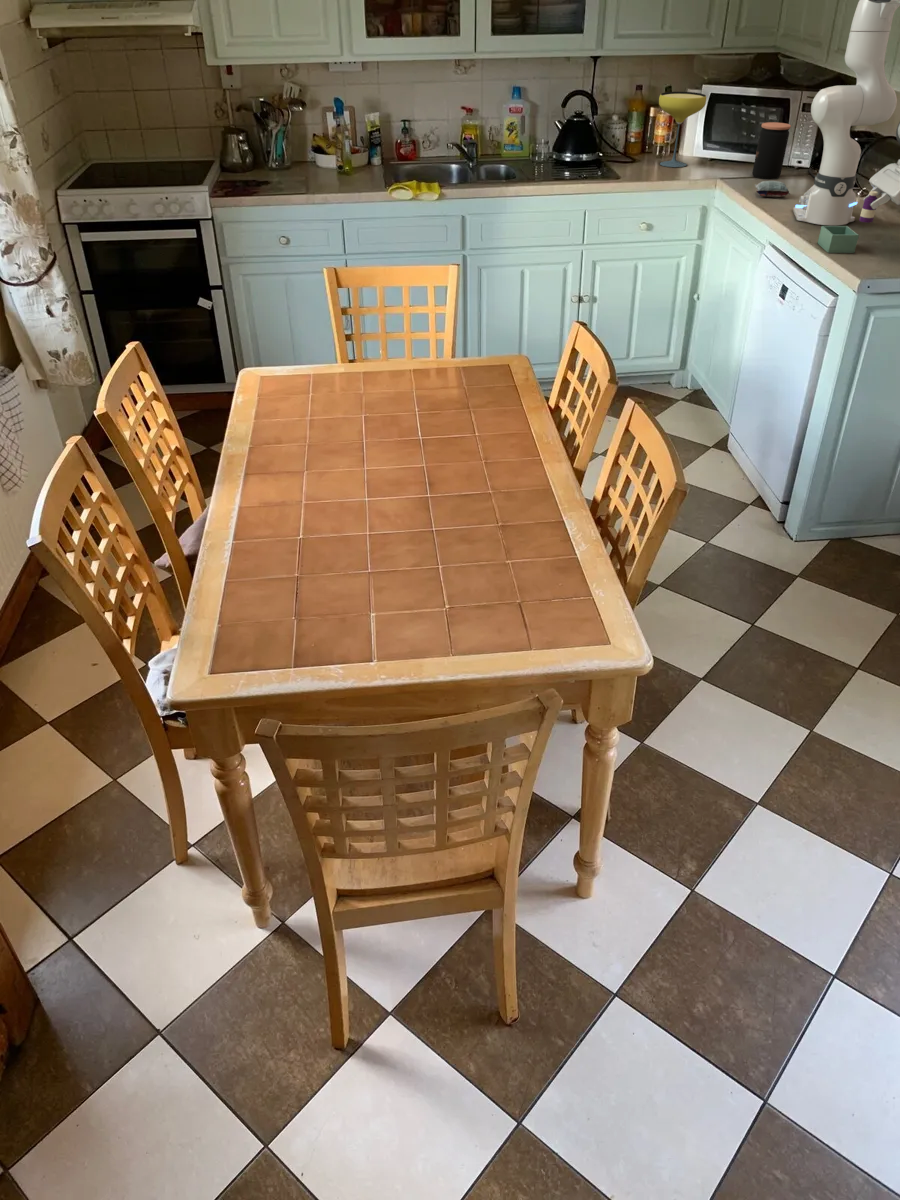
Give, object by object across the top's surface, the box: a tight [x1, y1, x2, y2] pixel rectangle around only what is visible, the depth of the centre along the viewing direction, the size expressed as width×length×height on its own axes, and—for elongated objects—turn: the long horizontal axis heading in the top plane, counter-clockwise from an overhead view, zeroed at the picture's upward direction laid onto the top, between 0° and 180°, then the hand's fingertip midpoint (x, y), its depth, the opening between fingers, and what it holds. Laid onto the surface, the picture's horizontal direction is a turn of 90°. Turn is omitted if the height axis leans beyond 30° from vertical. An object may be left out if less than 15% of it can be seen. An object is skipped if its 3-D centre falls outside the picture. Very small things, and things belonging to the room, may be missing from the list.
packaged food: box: [754, 180, 791, 198], centre depth 318 cm, size 9×12×5 cm
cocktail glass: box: [658, 91, 707, 168], centre depth 354 cm, size 18×18×25 cm
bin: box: [817, 225, 860, 254], centre depth 266 cm, size 10×8×5 cm
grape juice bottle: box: [858, 190, 878, 224], centre depth 261 cm, size 4×4×8 cm
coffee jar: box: [752, 121, 792, 180], centre depth 339 cm, size 11×11×18 cm
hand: (868, 204), depth 260 cm, fingers closed on grape juice bottle, 4 cm apart
